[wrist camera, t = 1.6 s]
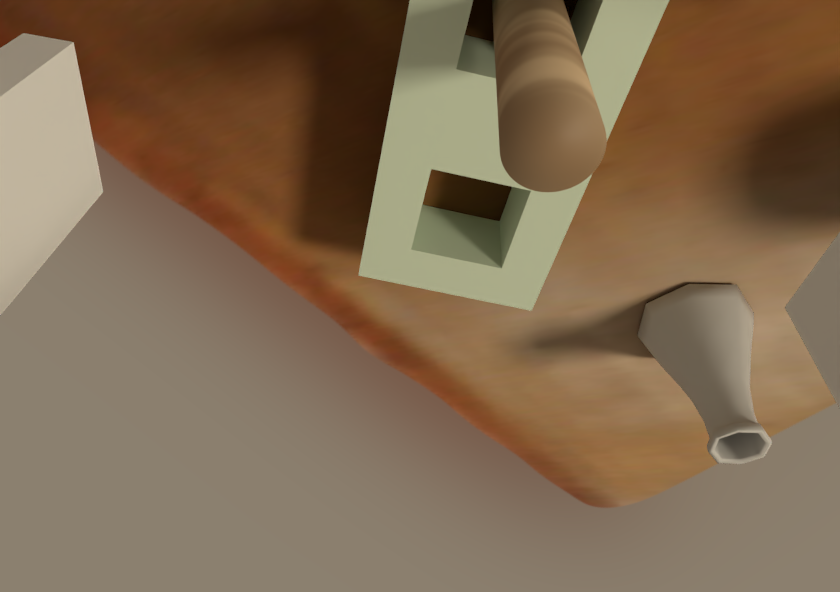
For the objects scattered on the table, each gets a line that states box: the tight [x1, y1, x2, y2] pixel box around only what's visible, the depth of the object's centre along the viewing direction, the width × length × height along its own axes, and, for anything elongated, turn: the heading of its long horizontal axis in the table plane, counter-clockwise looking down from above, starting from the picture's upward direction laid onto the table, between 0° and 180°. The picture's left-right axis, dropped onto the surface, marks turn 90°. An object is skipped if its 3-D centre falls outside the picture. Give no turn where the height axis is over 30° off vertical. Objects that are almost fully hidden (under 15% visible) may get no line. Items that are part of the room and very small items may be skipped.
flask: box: [637, 284, 772, 464], centre depth 38 cm, size 7×7×10 cm
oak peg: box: [492, 0, 607, 192], centre depth 24 cm, size 3×3×15 cm
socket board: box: [359, 0, 669, 311], centre depth 31 cm, size 20×10×4 cm, turn 168°
